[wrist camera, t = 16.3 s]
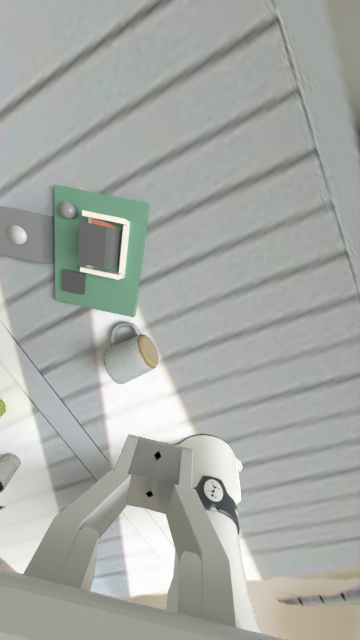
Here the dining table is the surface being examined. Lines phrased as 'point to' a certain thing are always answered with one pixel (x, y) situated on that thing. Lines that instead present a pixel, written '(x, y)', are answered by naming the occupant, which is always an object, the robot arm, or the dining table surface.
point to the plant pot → (2, 408)
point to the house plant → (7, 469)
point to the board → (92, 282)
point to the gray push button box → (26, 235)
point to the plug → (99, 244)
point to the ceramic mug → (130, 356)
